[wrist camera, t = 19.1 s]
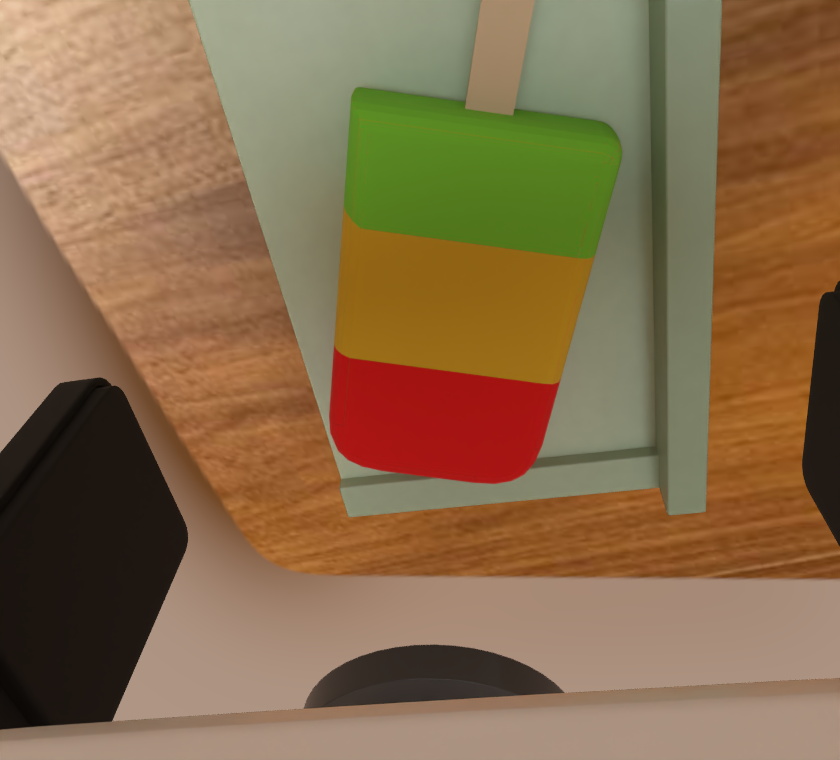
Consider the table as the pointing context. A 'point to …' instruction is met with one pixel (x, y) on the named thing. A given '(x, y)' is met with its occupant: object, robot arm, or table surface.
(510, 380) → the popsicle
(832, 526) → the robot arm
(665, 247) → the shelf
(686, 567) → the table surface
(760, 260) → the table surface
